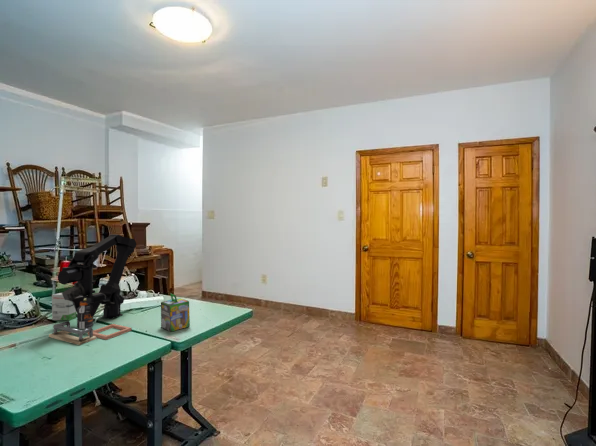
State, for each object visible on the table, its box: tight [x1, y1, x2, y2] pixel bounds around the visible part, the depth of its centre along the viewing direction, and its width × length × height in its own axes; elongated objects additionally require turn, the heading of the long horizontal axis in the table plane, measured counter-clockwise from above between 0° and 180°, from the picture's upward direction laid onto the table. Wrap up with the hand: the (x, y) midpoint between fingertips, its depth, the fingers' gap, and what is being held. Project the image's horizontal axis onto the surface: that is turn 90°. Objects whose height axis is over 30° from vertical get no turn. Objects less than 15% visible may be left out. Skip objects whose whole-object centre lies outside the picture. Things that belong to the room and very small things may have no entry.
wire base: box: [48, 330, 97, 346], centre depth 132 cm, size 8×19×1 cm, turn 66°
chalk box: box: [160, 292, 191, 333], centre depth 145 cm, size 9×9×15 cm
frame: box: [87, 323, 133, 341], centre depth 137 cm, size 11×11×1 cm
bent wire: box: [52, 320, 94, 341], centre depth 132 cm, size 6×18×5 cm, turn 66°
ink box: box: [51, 292, 77, 321], centre depth 155 cm, size 9×5×12 cm, turn 84°
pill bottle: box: [76, 300, 94, 330], centre depth 144 cm, size 6×6×11 cm
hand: (85, 315), depth 144 cm, fingers open, 9 cm apart
